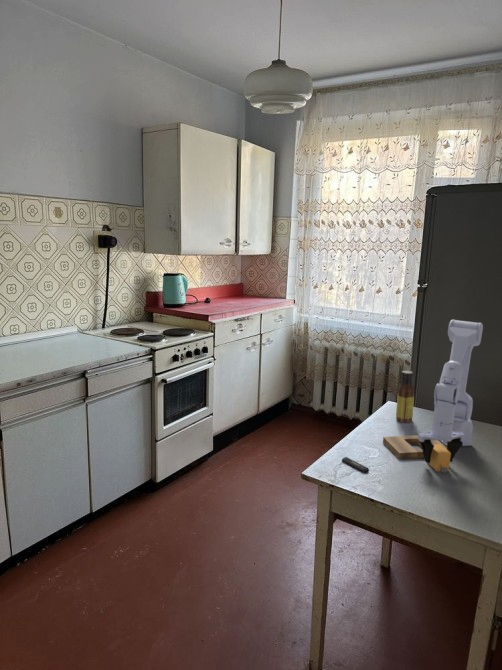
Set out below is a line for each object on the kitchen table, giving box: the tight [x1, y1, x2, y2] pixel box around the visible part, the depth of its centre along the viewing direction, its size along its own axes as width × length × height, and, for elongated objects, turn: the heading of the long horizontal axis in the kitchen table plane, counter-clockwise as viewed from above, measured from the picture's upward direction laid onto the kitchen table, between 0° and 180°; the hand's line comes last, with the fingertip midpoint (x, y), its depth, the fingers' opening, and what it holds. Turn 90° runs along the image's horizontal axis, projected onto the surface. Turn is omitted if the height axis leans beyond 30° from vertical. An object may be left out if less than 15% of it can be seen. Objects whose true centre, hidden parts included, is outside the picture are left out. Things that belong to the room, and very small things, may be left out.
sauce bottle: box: [395, 370, 415, 423], centre depth 179 cm, size 6×6×20 cm
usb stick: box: [341, 456, 370, 474], centre depth 143 cm, size 10×3×2 cm, turn 37°
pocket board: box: [382, 434, 447, 460], centre depth 156 cm, size 18×12×2 cm, turn 99°
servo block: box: [427, 444, 451, 474], centre depth 144 cm, size 4×9×6 cm, turn 9°
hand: (438, 461), depth 145 cm, fingers open, 7 cm apart
